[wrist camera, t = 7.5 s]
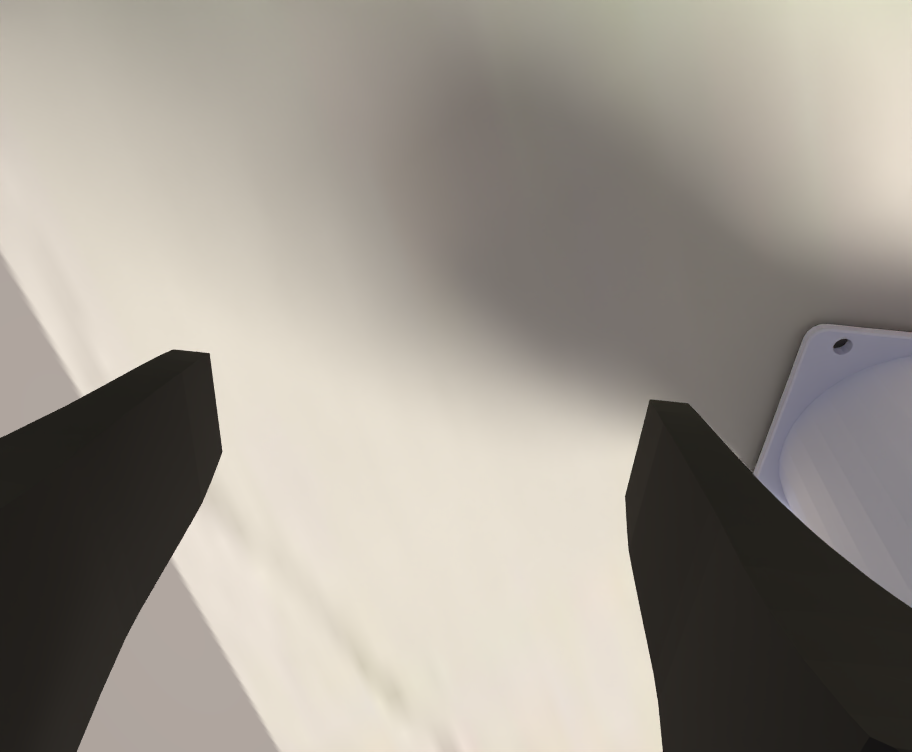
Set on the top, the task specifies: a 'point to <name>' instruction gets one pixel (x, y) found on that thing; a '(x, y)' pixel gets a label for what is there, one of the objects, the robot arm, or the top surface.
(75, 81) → the top surface
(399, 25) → the top surface
